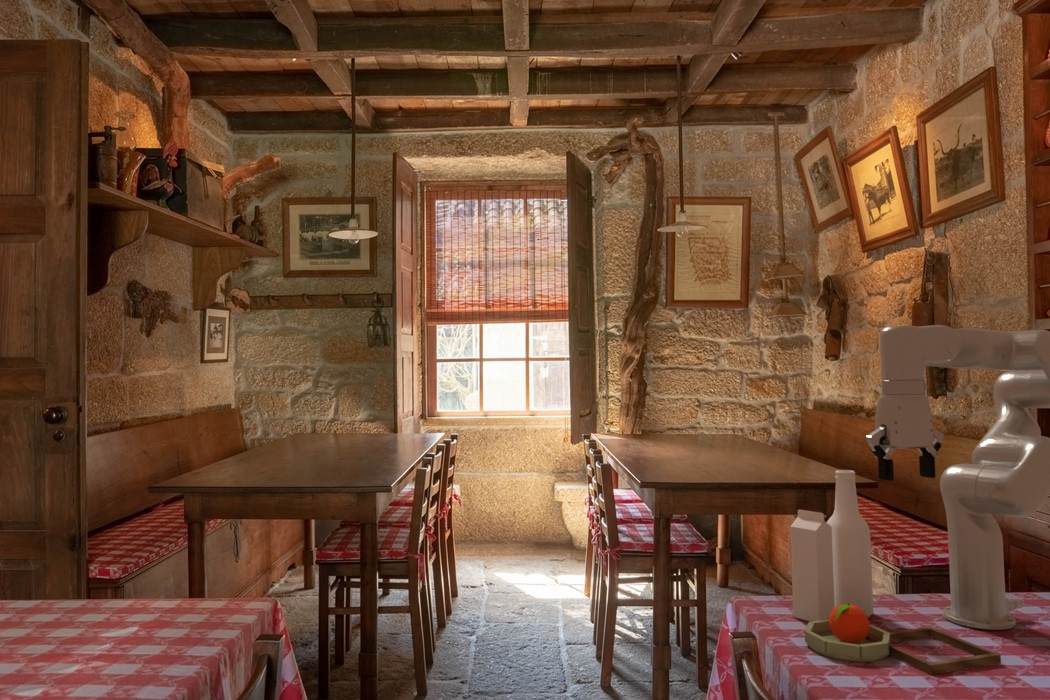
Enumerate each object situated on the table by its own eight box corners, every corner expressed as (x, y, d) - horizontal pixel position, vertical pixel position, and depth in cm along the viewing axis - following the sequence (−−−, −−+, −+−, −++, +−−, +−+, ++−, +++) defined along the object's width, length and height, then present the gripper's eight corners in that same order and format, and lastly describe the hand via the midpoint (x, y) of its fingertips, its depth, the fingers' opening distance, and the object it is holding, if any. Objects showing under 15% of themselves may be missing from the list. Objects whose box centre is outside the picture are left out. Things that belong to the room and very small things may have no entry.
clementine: (854, 653, 128) (853, 613, 128) (818, 642, 133) (817, 603, 134) (877, 643, 133) (876, 604, 133) (842, 633, 138) (840, 595, 138)
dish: (852, 630, 142) (852, 616, 142) (907, 656, 128) (907, 640, 128) (791, 638, 138) (790, 623, 138) (841, 666, 124) (841, 649, 125)
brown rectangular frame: (930, 634, 139) (930, 626, 139) (1001, 663, 124) (1000, 654, 124) (865, 643, 135) (865, 635, 135) (930, 674, 120) (930, 665, 120)
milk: (819, 624, 146) (815, 515, 146) (792, 617, 150) (789, 511, 151) (835, 618, 149) (831, 511, 150) (808, 610, 154) (805, 507, 155)
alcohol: (832, 618, 149) (826, 473, 150) (824, 605, 157) (819, 468, 159) (878, 621, 147) (872, 473, 148) (867, 607, 155) (862, 468, 157)
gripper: (924, 388, 145) (927, 473, 144) (852, 390, 140) (855, 478, 140) (955, 388, 138) (959, 478, 137) (880, 390, 133) (884, 483, 132)
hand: (907, 478), depth 138 cm, fingers open, 9 cm apart
